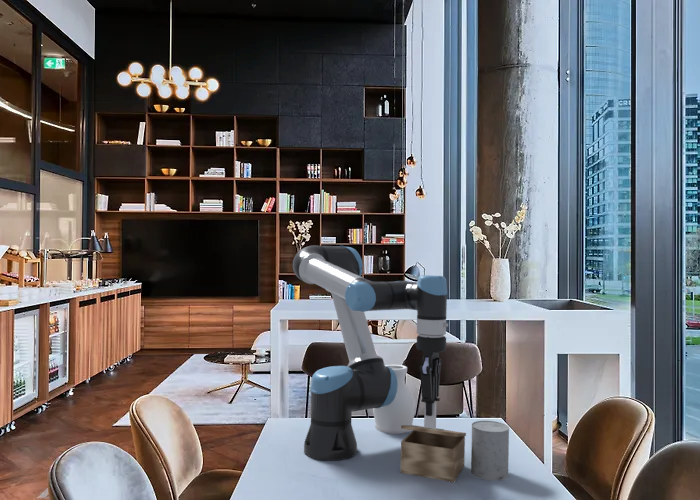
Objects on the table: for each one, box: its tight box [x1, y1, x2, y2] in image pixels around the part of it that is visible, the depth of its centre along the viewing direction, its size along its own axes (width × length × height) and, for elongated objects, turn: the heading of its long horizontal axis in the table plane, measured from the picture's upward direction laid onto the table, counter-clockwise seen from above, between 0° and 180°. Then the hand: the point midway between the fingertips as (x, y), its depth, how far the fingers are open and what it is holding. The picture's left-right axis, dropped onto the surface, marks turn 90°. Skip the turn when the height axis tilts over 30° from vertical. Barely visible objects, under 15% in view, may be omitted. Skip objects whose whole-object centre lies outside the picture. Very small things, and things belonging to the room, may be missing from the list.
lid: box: [401, 424, 467, 437], centre depth 147 cm, size 14×12×1 cm
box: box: [400, 430, 466, 483], centre depth 147 cm, size 14×12×8 cm
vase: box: [372, 364, 417, 435], centre depth 182 cm, size 14×14×20 cm
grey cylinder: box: [470, 420, 510, 482], centre depth 145 cm, size 10×10×12 cm
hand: (430, 427), depth 143 cm, fingers closed
